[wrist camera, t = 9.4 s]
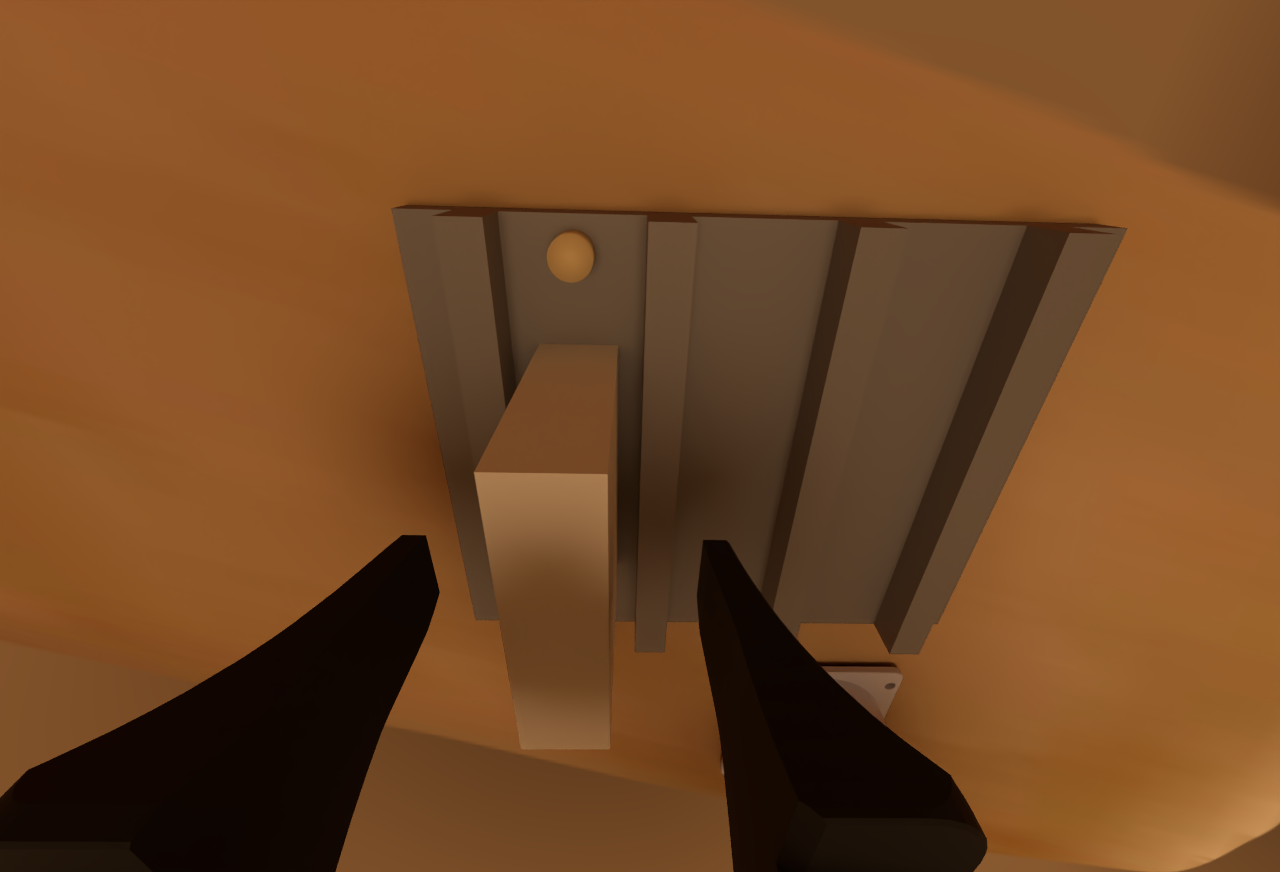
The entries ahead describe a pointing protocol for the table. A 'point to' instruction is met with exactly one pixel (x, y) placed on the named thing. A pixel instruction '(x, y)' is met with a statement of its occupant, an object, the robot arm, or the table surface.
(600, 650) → the picture frame
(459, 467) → the ridged panel
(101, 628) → the table surface
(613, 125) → the table surface
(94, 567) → the table surface
